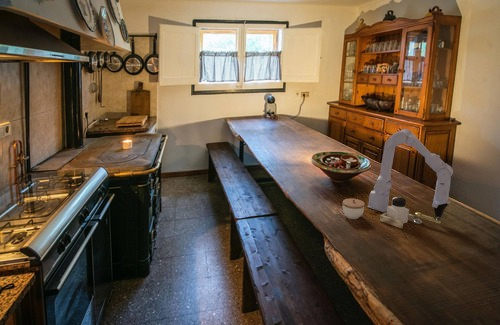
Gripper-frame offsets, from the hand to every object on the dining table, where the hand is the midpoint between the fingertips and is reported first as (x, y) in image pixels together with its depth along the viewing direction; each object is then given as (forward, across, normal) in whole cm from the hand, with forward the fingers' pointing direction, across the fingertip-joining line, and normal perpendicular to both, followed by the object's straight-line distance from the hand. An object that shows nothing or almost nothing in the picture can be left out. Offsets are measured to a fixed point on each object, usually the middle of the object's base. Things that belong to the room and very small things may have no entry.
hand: (438, 217), depth 167 cm
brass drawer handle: (0, -6, +3) cm, 7 cm away
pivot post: (+3, -6, +7) cm, 10 cm away
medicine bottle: (+3, -12, +14) cm, 19 cm away
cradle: (+3, -12, +14) cm, 19 cm away
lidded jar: (+3, -24, +32) cm, 40 cm away
